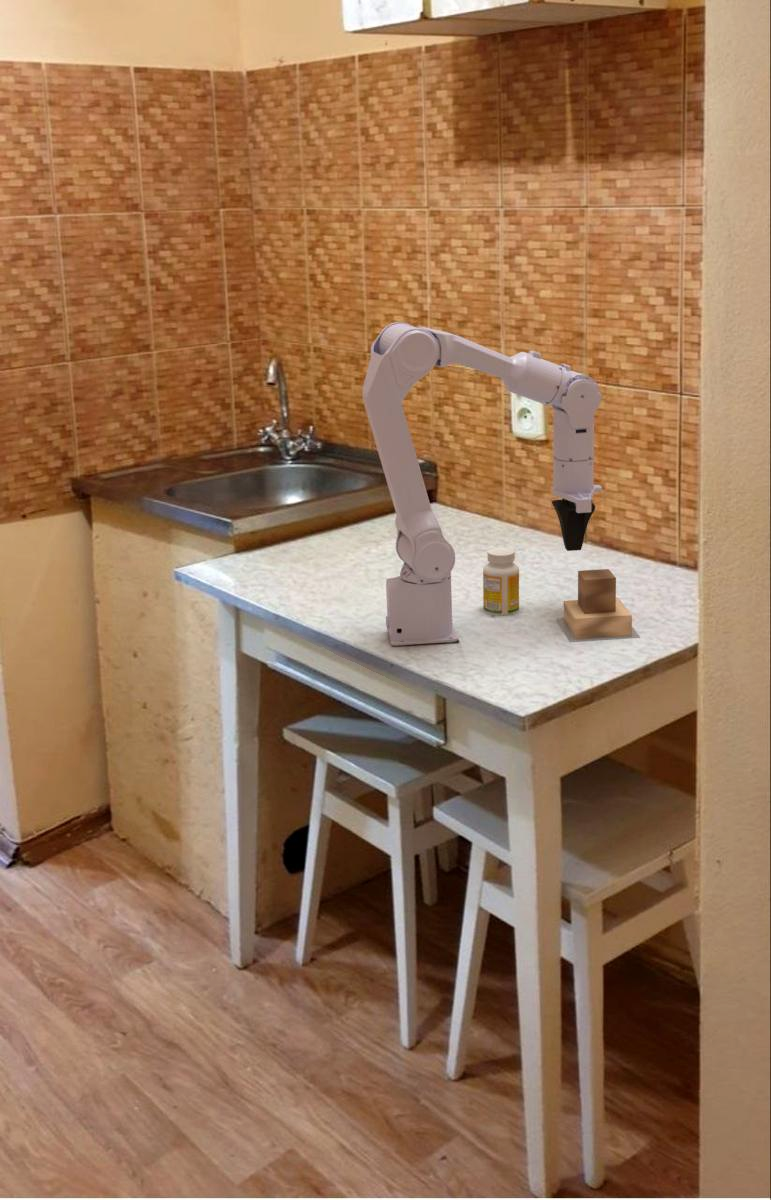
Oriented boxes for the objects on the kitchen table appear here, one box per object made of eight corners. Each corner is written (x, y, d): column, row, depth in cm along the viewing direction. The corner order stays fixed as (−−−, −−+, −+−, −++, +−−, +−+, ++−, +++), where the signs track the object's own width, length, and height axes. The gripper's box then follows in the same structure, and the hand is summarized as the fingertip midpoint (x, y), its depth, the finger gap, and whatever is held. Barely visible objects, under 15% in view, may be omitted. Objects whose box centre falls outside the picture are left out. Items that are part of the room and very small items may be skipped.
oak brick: (575, 639, 181) (575, 618, 180) (563, 620, 188) (563, 600, 187) (631, 635, 181) (632, 615, 180) (617, 617, 189) (618, 597, 188)
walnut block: (584, 613, 181) (584, 579, 180) (577, 604, 186) (578, 570, 184) (615, 611, 182) (616, 577, 180) (608, 602, 186) (608, 568, 184)
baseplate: (569, 645, 180) (569, 641, 180) (555, 622, 189) (555, 618, 189) (640, 641, 180) (640, 637, 180) (622, 618, 190) (622, 614, 190)
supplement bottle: (487, 619, 192) (485, 557, 189) (480, 608, 197) (479, 547, 194) (522, 617, 192) (522, 555, 189) (515, 606, 197) (514, 545, 194)
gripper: (613, 466, 177) (612, 561, 181) (590, 445, 191) (589, 534, 195) (562, 469, 177) (562, 564, 181) (542, 448, 191) (543, 537, 195)
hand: (573, 549), depth 188 cm, fingers closed
